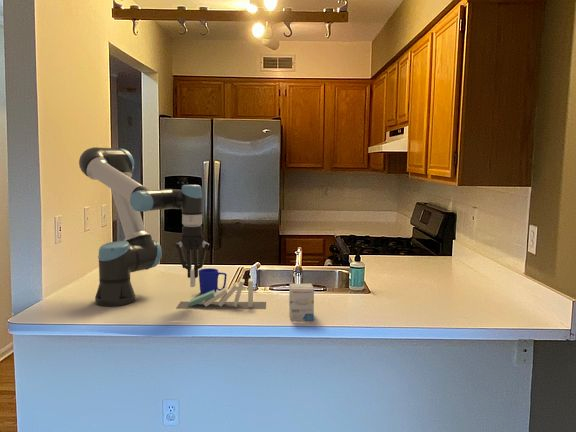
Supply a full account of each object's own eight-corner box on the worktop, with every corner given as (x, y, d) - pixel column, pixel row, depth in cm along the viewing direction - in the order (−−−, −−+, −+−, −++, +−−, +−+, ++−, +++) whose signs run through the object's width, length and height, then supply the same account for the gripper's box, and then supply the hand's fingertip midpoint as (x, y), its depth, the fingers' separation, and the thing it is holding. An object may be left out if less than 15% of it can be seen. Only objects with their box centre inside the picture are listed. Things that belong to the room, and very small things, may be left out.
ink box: (311, 313, 192) (312, 283, 190) (313, 320, 183) (314, 288, 182) (288, 313, 191) (289, 283, 190) (289, 320, 183) (290, 288, 182)
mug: (223, 297, 214) (223, 273, 213) (195, 295, 216) (195, 271, 215) (229, 292, 222) (229, 269, 221) (202, 290, 224) (202, 267, 223)
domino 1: (203, 303, 198) (225, 289, 197) (205, 300, 203) (226, 286, 202) (205, 306, 198) (227, 293, 197) (207, 303, 203) (228, 289, 202)
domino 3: (232, 305, 198) (240, 281, 197) (233, 302, 203) (240, 278, 202) (236, 307, 198) (244, 282, 197) (237, 303, 203) (244, 279, 202)
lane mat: (175, 309, 195) (175, 308, 195) (180, 302, 205) (180, 301, 205) (265, 309, 196) (265, 308, 196) (266, 302, 206) (266, 301, 206)
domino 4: (248, 307, 198) (248, 281, 197) (248, 303, 203) (248, 278, 202) (252, 307, 198) (252, 281, 197) (252, 303, 203) (253, 278, 202)
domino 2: (217, 304, 198) (234, 284, 197) (219, 300, 203) (235, 281, 202) (221, 306, 198) (238, 287, 197) (222, 303, 203) (238, 284, 202)
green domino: (188, 303, 198) (212, 292, 197) (190, 299, 202) (214, 289, 202) (190, 306, 198) (214, 296, 197) (192, 303, 203) (215, 293, 202)
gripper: (173, 226, 193) (174, 288, 195) (208, 226, 193) (208, 288, 196) (177, 224, 201) (177, 283, 203) (210, 224, 201) (211, 283, 203)
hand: (192, 286), depth 199 cm, fingers closed
